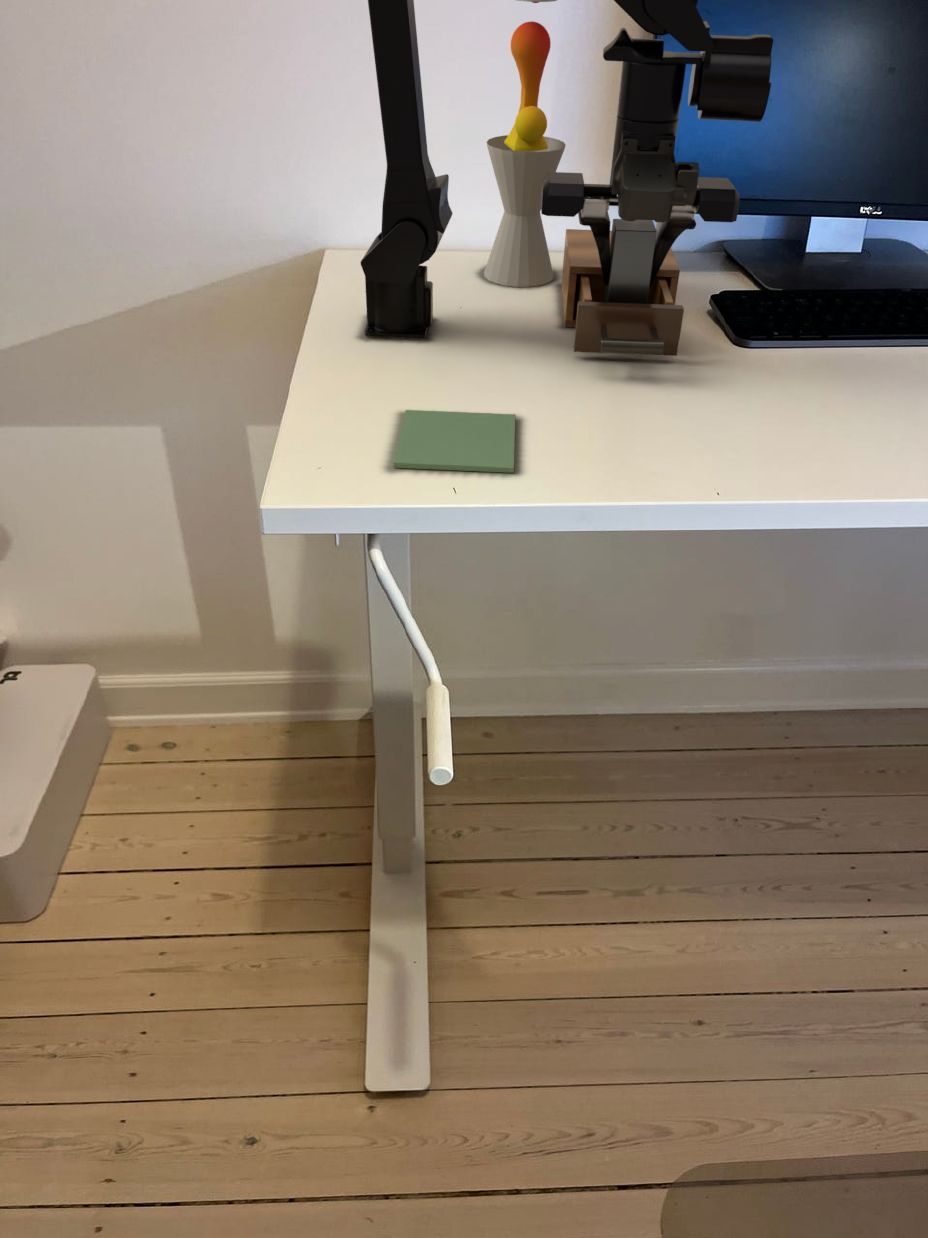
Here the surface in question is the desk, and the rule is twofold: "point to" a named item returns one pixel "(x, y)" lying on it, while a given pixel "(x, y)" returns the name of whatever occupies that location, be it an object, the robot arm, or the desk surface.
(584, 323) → the drawer
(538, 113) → the lava lamp
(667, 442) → the desk surface
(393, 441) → the desk surface
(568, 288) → the cabinet
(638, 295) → the tall grey pillar
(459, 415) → the mat
